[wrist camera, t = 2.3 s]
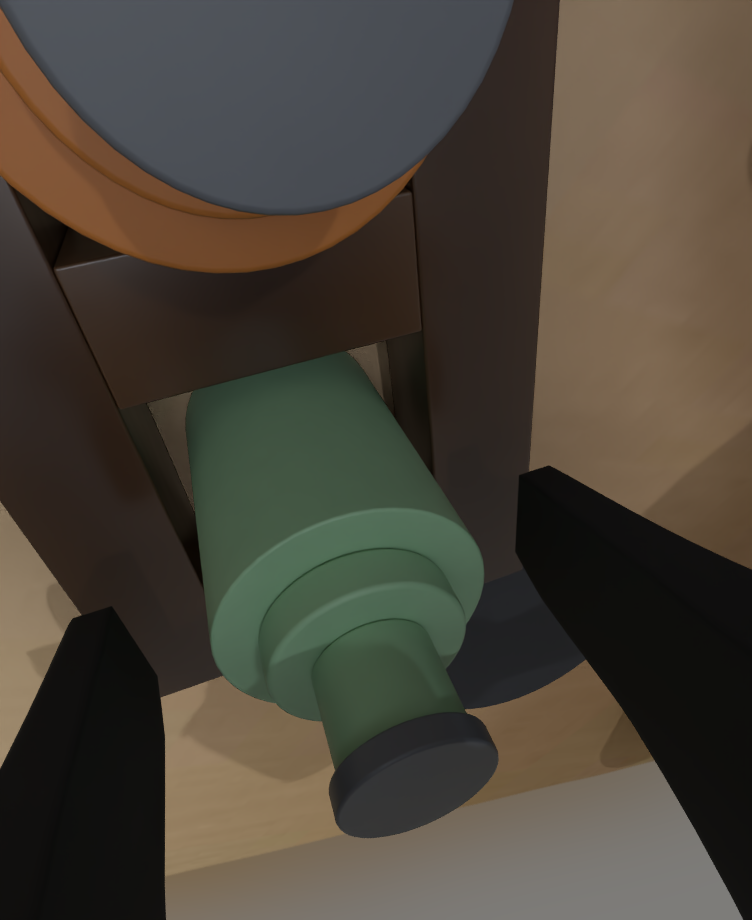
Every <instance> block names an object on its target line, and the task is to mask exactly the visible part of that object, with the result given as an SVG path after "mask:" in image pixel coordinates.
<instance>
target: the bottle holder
mask: <svg viewBox="0 0 752 920" xmlns="http://www.w3.org/2000/svg"><path fill="white" fill-rule="evenodd" d="M559 3H560V0H514V2H513V5H512V9H511V13H510V16H509V19H508V21H507V24H506V27H505V30H504V32H503V35H502V38H501V41H500V44H499V46H498V49H497V51H496V53H495V55H494V58H493V60H492V62H491V64H490V66H489V68H488V70H487V72H486V75H485V77H484V79H483V81H482V83H481V84H480V86H479V88H478V89H477V91H476V93H475V94H474V96H473V98H472V99H471V101H470V103H469V104H468V106H467V108H466V109H465V111H464V112H463V113H462V115H461V116H460V117H459V119H458V120H457V121H456V123H455V124H454V125H453V126H452V128H451V129H450V130H449V132H448V133H447V134H446V136H445V137H444V138H443V139H442V140H441V141H440V142H439V143H438V144H437V145H436V146H435V147H434V148H433V149H432V150H431V151H430V152H429V153H428V155H427V156H426V158H425V160H424V161H423V163H422V164H421V166H420V167H419V168H418V170H417V171H416V172H415V174H414V175H413V176H412V178H411V179H410V180H409V181H408V183H407V184H406V185H405V187H404V188H403V189H402V190H401V191H400V193H399V194H398V195H397V196H396V197H395V198H394V199H393V200H392V201H391V202H390V203H389V204H388V205H387V206H386V207H385V208H384V209H383V210H382V211H381V212H380V213H379V214H378V215H377V216H375V217H374V218H373V219H372V220H370V221H369V222H368V223H367V224H365V225H364V226H363V227H362V228H361V229H359V230H358V231H357V232H355V233H354V234H352V235H350V236H349V237H347V238H346V239H344V240H342V241H341V242H339V243H337V244H336V245H334V246H333V247H331V248H329V249H326V250H324V251H322V252H320V253H317V254H315V255H313V256H311V257H309V258H306V259H304V260H301V261H297V262H294V263H291V264H287V265H284V266H281V267H277V268H272V269H266V270H259V271H253V272H247V273H205V272H195V271H185V270H180V269H175V268H170V267H166V266H161V265H157V264H152V263H149V262H146V261H143V260H140V259H137V258H134V257H132V256H129V255H126V254H123V253H120V252H117V251H115V250H113V249H111V248H109V247H106V246H104V245H102V244H100V243H98V242H96V241H94V240H92V239H90V238H88V237H86V236H84V235H81V234H80V233H78V232H76V231H75V230H73V229H72V228H70V227H68V226H67V225H65V224H64V223H62V222H60V221H59V220H57V219H55V218H54V217H52V216H51V215H49V214H47V213H46V212H44V211H43V210H42V209H41V208H39V207H38V206H37V205H35V204H34V203H33V202H32V201H30V200H29V199H28V198H26V197H25V196H24V195H22V194H21V193H20V192H19V191H17V190H16V189H15V188H13V187H12V186H11V185H10V184H9V183H7V182H6V181H5V180H4V179H3V178H2V177H1V176H0V501H1V503H2V504H3V506H4V507H5V508H6V510H7V511H8V513H9V514H10V515H11V517H12V518H13V520H14V521H15V522H16V524H17V525H18V527H19V528H20V529H21V531H22V532H23V534H24V535H25V536H26V538H27V539H28V541H29V542H30V543H31V545H32V546H33V548H34V549H35V550H36V552H37V553H38V555H39V556H40V557H41V559H42V560H43V562H44V563H45V564H46V566H47V567H48V569H49V570H50V571H51V573H52V574H53V576H54V577H55V578H56V580H57V581H58V582H59V584H60V585H61V587H62V588H63V589H64V591H65V592H66V594H67V595H68V596H69V598H70V599H71V601H72V602H73V603H74V605H75V606H76V608H77V609H78V610H79V612H80V613H81V615H85V614H88V613H91V612H94V611H97V610H101V609H104V608H107V607H110V606H112V607H113V608H114V610H115V611H116V613H117V614H118V616H119V617H120V619H121V621H122V622H123V624H124V625H125V627H126V628H127V630H128V631H129V633H130V634H131V636H132V637H133V639H134V640H135V642H136V644H137V645H138V647H139V648H140V650H141V651H142V653H143V654H144V656H145V657H146V659H147V660H148V662H149V664H150V665H151V667H152V668H153V670H154V671H155V673H156V674H157V676H158V684H159V691H160V698H161V697H163V696H166V695H169V694H172V693H175V692H178V691H180V690H183V689H186V688H189V687H192V686H195V685H198V684H200V683H203V682H206V681H209V680H212V679H215V678H217V677H220V676H223V675H222V673H221V672H220V670H219V669H218V667H217V666H216V663H215V661H214V658H213V656H212V651H211V645H210V637H209V628H208V620H207V611H206V602H205V594H204V585H203V576H202V567H201V559H200V550H199V541H198V533H197V524H196V516H195V514H194V512H193V509H192V507H191V505H190V502H189V500H188V498H187V495H186V493H185V491H184V489H183V486H182V484H181V482H180V479H179V477H178V475H177V473H176V470H175V468H174V466H173V463H172V461H171V459H170V456H169V454H168V452H167V450H166V447H165V445H164V443H163V440H162V438H161V436H160V434H159V431H158V429H157V427H156V424H155V422H154V420H153V417H152V415H151V413H150V411H149V408H148V406H147V404H146V403H148V402H152V401H156V400H160V399H164V398H167V397H171V396H175V395H179V394H183V393H187V392H190V391H194V390H198V389H202V388H206V387H209V386H213V385H217V384H221V383H225V382H229V381H232V380H236V379H240V378H244V377H248V376H252V375H255V374H259V373H263V372H267V371H271V370H274V369H278V368H282V367H286V366H290V365H294V364H297V363H301V362H305V361H309V360H313V359H316V358H320V357H324V356H328V355H332V354H336V353H339V352H343V351H347V350H351V349H355V348H359V347H362V346H366V345H370V344H374V343H378V342H381V341H385V340H387V347H388V355H389V364H390V373H391V382H392V390H393V399H394V408H395V416H396V421H397V422H398V424H399V425H400V427H401V429H402V430H403V432H404V433H405V435H406V436H407V438H408V439H409V441H410V442H411V444H412V445H413V447H414V448H415V450H416V451H417V453H418V454H419V456H420V458H421V459H422V461H423V462H424V464H425V465H426V467H427V468H428V470H429V471H430V473H431V474H432V476H433V477H434V479H435V480H436V482H437V483H438V485H439V487H440V488H441V490H442V491H443V493H444V494H445V496H446V497H447V499H448V500H449V502H450V503H451V505H452V506H453V508H454V509H455V511H456V512H457V514H458V516H459V517H460V519H461V520H462V522H463V523H464V525H465V526H466V528H467V529H468V531H469V532H470V534H471V535H472V537H473V538H474V540H475V542H476V544H477V545H478V547H479V549H480V552H481V555H482V558H483V564H484V583H487V582H490V581H493V580H495V579H498V578H501V577H504V576H507V575H510V574H513V573H515V572H518V571H521V570H522V568H523V565H522V563H521V562H520V560H519V558H518V556H517V554H516V552H515V544H516V524H517V504H518V485H519V475H521V474H524V473H527V472H529V461H530V446H531V431H532V415H533V400H534V385H535V369H536V354H537V339H538V324H539V308H540V293H541V278H542V262H543V247H544V232H545V217H546V201H547V186H548V171H549V155H550V140H551V125H552V110H553V94H554V79H555V64H556V49H557V33H558V18H559Z"/></svg>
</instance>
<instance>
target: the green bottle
mask: <svg viewBox="0 0 752 920" xmlns="http://www.w3.org/2000/svg"><path fill="white" fill-rule="evenodd" d="M185 428H186V437H187V446H188V454H189V463H190V472H191V480H192V489H193V498H194V506H195V515H196V524H197V533H198V541H199V550H200V559H201V567H202V576H203V585H204V594H205V602H206V611H207V620H208V628H209V637H210V645H211V651H212V656H213V658H214V661H215V663H216V666H217V667H218V669H219V670H220V672H221V673H222V675H223V676H224V677H225V678H226V679H227V680H228V681H229V682H230V683H231V684H232V685H233V686H235V687H236V688H237V689H239V690H240V691H242V692H244V693H246V694H248V695H250V696H252V697H254V698H257V699H260V700H264V701H267V702H272V703H276V704H277V705H278V706H279V707H280V708H281V709H283V710H284V711H286V712H287V713H289V714H291V715H293V716H296V717H299V718H302V719H306V720H312V721H322V723H323V726H324V730H325V734H326V738H327V741H328V745H329V749H330V753H331V757H332V760H333V764H334V768H335V772H334V774H333V776H332V778H331V781H330V785H329V796H330V800H331V804H332V808H333V812H334V816H335V821H336V824H337V825H338V827H339V828H340V830H342V831H343V832H344V833H346V834H348V835H350V836H354V837H360V838H377V837H384V836H390V835H395V834H399V833H403V832H406V831H409V830H412V829H415V828H418V827H420V826H423V825H426V824H428V823H430V822H432V821H434V820H436V819H439V818H441V817H442V816H444V815H446V814H448V813H450V812H451V811H453V810H455V809H456V808H458V807H459V806H461V805H462V804H464V803H465V802H466V801H468V800H469V799H470V798H471V797H473V796H474V795H475V794H476V793H477V792H478V791H479V790H481V789H482V788H483V787H484V785H485V784H486V783H487V782H488V781H489V780H490V778H491V777H492V775H493V774H494V772H495V770H496V768H497V765H498V751H497V749H496V746H495V744H494V742H493V740H492V738H491V736H490V734H489V732H488V730H487V728H486V726H485V725H484V724H483V722H482V721H481V720H479V719H478V718H477V717H475V716H473V715H470V714H467V713H466V711H465V709H464V707H463V705H462V703H461V701H460V698H459V696H458V694H457V692H456V690H455V688H454V686H453V684H452V682H451V680H450V678H449V675H448V673H447V671H446V668H447V667H448V666H449V665H450V663H451V662H452V661H453V659H454V658H455V656H456V655H457V653H458V651H459V650H460V647H461V645H462V643H463V640H464V636H465V631H466V624H467V622H468V621H469V619H470V618H471V616H472V614H473V612H474V611H475V609H476V606H477V604H478V602H479V599H480V597H481V593H482V589H483V584H484V564H483V558H482V555H481V552H480V549H479V547H478V545H477V544H476V542H475V540H474V538H473V537H472V535H471V534H470V532H469V531H468V529H467V528H466V526H465V525H464V523H463V522H462V520H461V519H460V517H459V516H458V514H457V512H456V511H455V509H454V508H453V506H452V505H451V503H450V502H449V500H448V499H447V497H446V496H445V494H444V493H443V491H442V490H441V488H440V487H439V485H438V483H437V482H436V480H435V479H434V477H433V476H432V474H431V473H430V471H429V470H428V468H427V467H426V465H425V464H424V462H423V461H422V459H421V458H420V456H419V454H418V453H417V451H416V450H415V448H414V447H413V445H412V444H411V442H410V441H409V439H408V438H407V436H406V435H405V433H404V432H403V430H402V429H401V427H400V425H399V424H398V422H397V421H396V419H395V418H394V416H393V415H392V413H391V412H390V410H389V409H388V407H387V406H386V404H385V403H384V401H383V400H382V398H381V397H380V395H379V393H378V392H377V390H376V389H375V387H374V386H373V384H372V383H371V381H370V380H369V378H368V377H367V375H366V374H365V372H364V371H363V369H362V368H361V367H360V365H359V364H358V363H357V362H356V360H355V359H353V358H352V357H351V356H350V355H349V354H348V353H347V352H345V351H343V352H339V353H336V354H332V355H328V356H324V357H320V358H316V359H313V360H309V361H305V362H301V363H297V364H294V365H290V366H286V367H282V368H278V369H274V370H271V371H267V372H263V373H259V374H255V375H252V376H248V377H244V378H240V379H236V380H232V381H229V382H225V383H221V384H217V385H213V386H209V387H206V388H202V389H198V390H194V391H193V392H192V395H191V397H190V400H189V403H188V407H187V412H186V427H185Z"/></svg>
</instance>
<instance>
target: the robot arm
mask: <svg viewBox="0 0 752 920" xmlns="http://www.w3.org/2000/svg"><path fill="white" fill-rule="evenodd" d="M515 552H516V554H517V556H518V558H519V560H520V562H521V563H522V565H523V567H524V569H525V571H526V573H527V574H528V576H529V578H530V580H531V582H532V583H533V585H534V587H535V588H536V590H537V592H538V594H539V595H540V597H541V599H542V600H543V601H544V603H545V604H546V606H547V607H548V608H549V610H550V611H551V613H552V614H553V615H554V617H555V618H556V619H557V621H558V622H559V624H560V625H561V626H562V628H563V629H564V630H565V632H566V633H567V634H568V636H569V637H570V638H571V640H572V641H573V642H574V644H575V645H576V647H577V648H578V649H579V651H580V652H581V653H582V655H583V656H584V657H585V659H586V660H587V661H588V663H589V664H590V665H591V667H592V668H593V669H594V671H595V672H596V673H597V675H598V676H599V677H600V679H601V680H602V681H603V683H604V684H605V686H606V687H607V688H608V690H609V691H610V692H611V694H612V695H613V696H614V698H615V699H616V700H617V702H618V703H619V705H620V706H621V708H622V709H623V711H624V712H625V714H626V715H627V716H628V718H629V719H630V721H631V722H632V724H633V726H634V727H635V729H636V730H637V732H638V734H639V735H640V737H641V739H642V740H643V742H644V744H645V745H646V747H647V749H648V750H649V752H650V754H651V755H652V757H653V758H654V760H655V762H656V763H657V765H658V767H659V768H660V770H661V771H662V773H663V775H664V777H665V778H666V780H667V782H668V784H669V785H670V787H671V789H672V791H673V792H674V794H675V796H676V797H677V799H678V801H679V803H680V804H681V806H682V808H683V810H684V811H685V813H686V815H687V817H688V818H689V820H690V822H691V823H692V825H693V827H694V829H695V830H696V832H697V834H698V836H699V838H700V840H701V841H702V843H703V845H704V847H705V849H706V850H707V852H708V854H709V856H710V858H711V860H712V862H713V863H714V865H715V867H716V869H717V870H718V873H719V874H720V876H721V878H722V880H723V882H724V883H725V885H726V887H727V889H728V891H729V893H730V894H731V896H732V898H733V900H734V902H735V904H736V906H737V908H738V910H739V912H740V914H741V916H742V918H743V920H752V570H751V569H749V568H747V567H744V566H742V565H740V564H737V563H735V562H733V561H731V560H729V559H727V558H724V557H722V556H720V555H718V554H716V553H714V552H712V551H710V550H707V549H705V548H703V547H701V546H699V545H697V544H695V543H693V542H691V541H689V540H687V539H685V538H683V537H681V536H679V535H677V534H675V533H673V532H671V531H669V530H667V529H665V528H663V527H661V526H659V525H657V524H655V523H653V522H651V521H649V520H648V519H646V518H644V517H642V516H640V515H638V514H636V513H635V512H633V511H631V510H629V509H627V508H625V507H623V506H622V505H620V504H618V503H616V502H614V501H613V500H611V499H609V498H607V497H605V496H604V495H602V494H600V493H598V492H596V491H595V490H593V489H591V488H589V487H588V486H586V485H584V484H582V483H580V482H579V481H577V480H575V479H573V478H571V477H570V476H568V475H566V474H564V473H562V472H561V471H559V470H557V469H555V468H553V467H551V466H546V467H543V468H539V469H536V470H533V471H530V472H527V473H524V474H521V475H519V485H518V504H517V524H516V544H515ZM165 911H166V910H165V733H164V724H163V715H162V706H161V699H160V691H159V684H158V676H157V674H156V673H155V671H154V670H153V668H152V667H151V665H150V664H149V662H148V660H147V659H146V657H145V656H144V654H143V653H142V651H141V650H140V648H139V647H138V645H137V644H136V642H135V640H134V639H133V637H132V636H131V634H130V633H129V631H128V630H127V628H126V627H125V625H124V624H123V622H122V621H121V619H120V617H119V616H118V614H117V613H116V611H115V610H114V608H113V607H112V606H110V607H107V608H104V609H101V610H97V611H94V612H91V613H88V614H85V615H82V616H79V617H76V618H73V619H72V620H71V622H70V623H69V625H68V627H67V629H66V631H65V634H64V636H63V638H62V640H61V642H60V644H59V647H58V649H57V651H56V653H55V656H54V658H53V660H52V662H51V664H50V667H49V669H48V671H47V673H46V675H45V678H44V680H43V682H42V684H41V686H40V688H39V690H38V693H37V695H36V697H35V699H34V701H33V703H32V705H31V708H30V710H29V712H28V714H27V716H26V718H25V720H24V722H23V724H22V726H21V728H20V730H19V732H18V734H17V736H16V738H15V740H14V742H13V744H12V746H11V748H10V750H9V752H8V754H7V756H6V758H5V760H4V762H3V764H2V766H1V768H0V920H166V912H165Z"/></svg>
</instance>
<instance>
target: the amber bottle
mask: <svg viewBox="0 0 752 920" xmlns="http://www.w3.org/2000/svg"><path fill="white" fill-rule="evenodd" d="M513 2H514V0H0V176H1V177H2V178H3V179H4V180H5V181H6V182H7V183H9V184H10V185H11V186H12V187H13V188H15V189H16V190H17V191H19V192H20V193H21V194H22V195H24V196H25V197H26V198H28V199H29V200H30V201H32V202H33V203H34V204H35V205H37V206H38V207H39V208H41V209H42V210H43V211H44V212H46V213H47V214H49V215H51V216H52V217H54V218H55V219H57V220H59V221H60V222H62V223H64V224H65V225H67V226H68V227H70V228H72V229H73V230H75V231H76V232H78V233H80V234H81V235H84V236H86V237H88V238H90V239H92V240H94V241H96V242H98V243H100V244H102V245H104V246H106V247H109V248H111V249H113V250H115V251H117V252H120V253H123V254H126V255H129V256H132V257H134V258H137V259H140V260H143V261H146V262H149V263H152V264H157V265H161V266H166V267H170V268H175V269H180V270H185V271H195V272H205V273H247V272H253V271H259V270H266V269H272V268H277V267H281V266H284V265H287V264H291V263H294V262H297V261H301V260H304V259H306V258H309V257H311V256H313V255H315V254H317V253H320V252H322V251H324V250H326V249H329V248H331V247H333V246H334V245H336V244H337V243H339V242H341V241H342V240H344V239H346V238H347V237H349V236H350V235H352V234H354V233H355V232H357V231H358V230H359V229H361V228H362V227H363V226H364V225H365V224H367V223H368V222H369V221H370V220H372V219H373V218H374V217H375V216H377V215H378V214H379V213H380V212H381V211H382V210H383V209H384V208H385V207H386V206H387V205H388V204H389V203H390V202H391V201H392V200H393V199H394V198H395V197H396V196H397V195H398V194H399V193H400V191H401V190H402V189H403V188H404V187H405V185H406V184H407V183H408V181H409V180H410V179H411V178H412V176H413V175H414V174H415V172H416V171H417V170H418V168H419V167H420V166H421V164H422V163H423V161H424V160H425V158H426V156H427V155H428V153H429V152H430V151H431V150H432V149H433V148H434V147H435V146H436V145H437V144H438V143H439V142H440V141H441V140H442V139H443V138H444V137H445V136H446V134H447V133H448V132H449V130H450V129H451V128H452V126H453V125H454V124H455V123H456V121H457V120H458V119H459V117H460V116H461V115H462V113H463V112H464V111H465V109H466V108H467V106H468V104H469V103H470V101H471V99H472V98H473V96H474V94H475V93H476V91H477V89H478V88H479V86H480V84H481V83H482V81H483V79H484V77H485V75H486V72H487V70H488V68H489V66H490V64H491V62H492V60H493V58H494V55H495V53H496V51H497V49H498V46H499V44H500V41H501V38H502V35H503V32H504V30H505V27H506V24H507V21H508V19H509V16H510V13H511V9H512V5H513Z"/></svg>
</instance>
